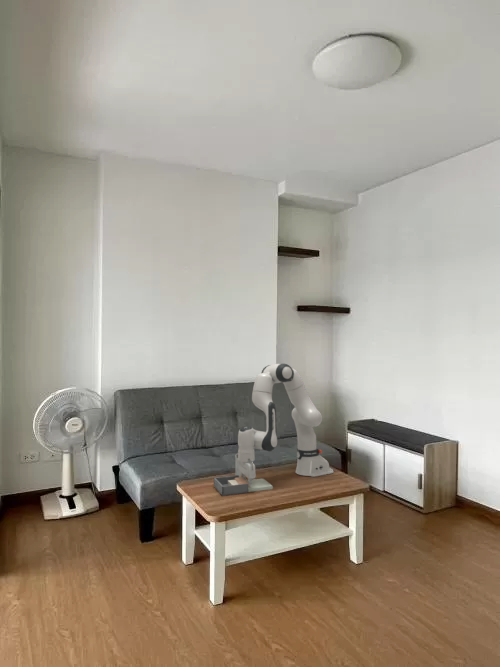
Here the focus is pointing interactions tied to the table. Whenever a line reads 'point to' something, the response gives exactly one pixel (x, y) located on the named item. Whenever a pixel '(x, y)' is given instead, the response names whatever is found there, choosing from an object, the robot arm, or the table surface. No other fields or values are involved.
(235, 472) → the small box
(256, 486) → the sage board
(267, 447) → the robot arm
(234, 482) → the cream tile
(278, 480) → the table surface
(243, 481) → the terracotta tile
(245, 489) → the tray
